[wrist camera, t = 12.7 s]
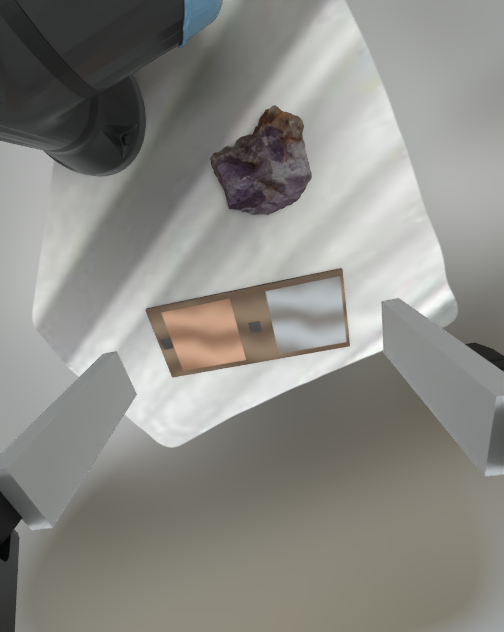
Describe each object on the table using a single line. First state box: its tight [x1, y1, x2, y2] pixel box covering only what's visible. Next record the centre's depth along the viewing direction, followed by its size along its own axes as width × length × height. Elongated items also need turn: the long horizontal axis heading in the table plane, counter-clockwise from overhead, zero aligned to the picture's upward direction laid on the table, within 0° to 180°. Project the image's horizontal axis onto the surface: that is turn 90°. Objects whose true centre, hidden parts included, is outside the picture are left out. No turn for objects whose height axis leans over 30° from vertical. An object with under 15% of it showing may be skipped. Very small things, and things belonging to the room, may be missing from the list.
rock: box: [211, 106, 312, 215], centre depth 35 cm, size 12×8×10 cm
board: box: [146, 268, 350, 377], centre depth 48 cm, size 14×33×1 cm, turn 103°
